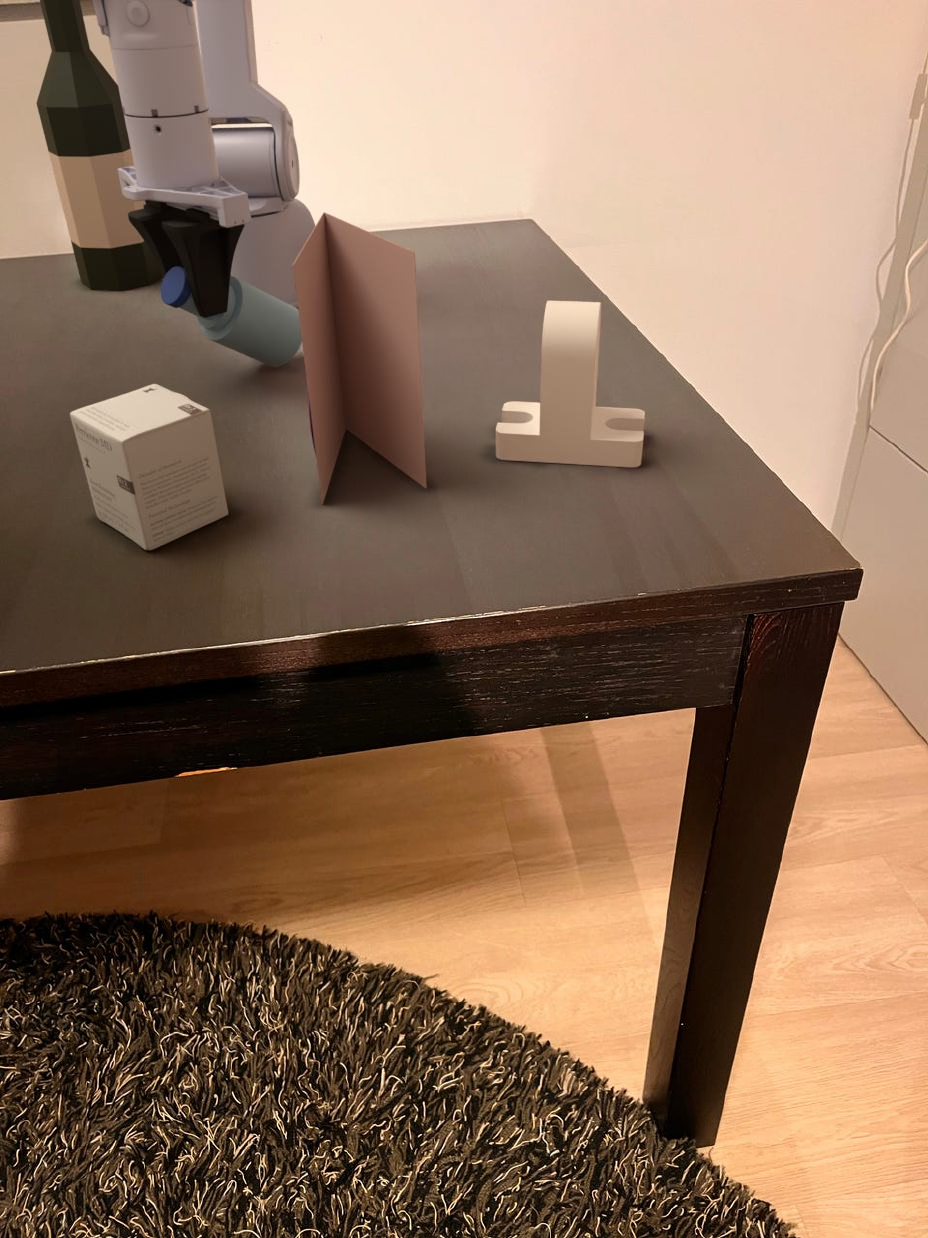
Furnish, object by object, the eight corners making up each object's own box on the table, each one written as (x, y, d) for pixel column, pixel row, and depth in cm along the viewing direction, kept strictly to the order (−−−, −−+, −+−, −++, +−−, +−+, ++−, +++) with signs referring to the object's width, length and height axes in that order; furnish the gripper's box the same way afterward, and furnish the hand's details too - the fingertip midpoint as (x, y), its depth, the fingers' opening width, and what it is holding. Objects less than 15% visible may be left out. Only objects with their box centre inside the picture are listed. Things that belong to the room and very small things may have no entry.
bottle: (275, 299, 82) (166, 244, 74) (313, 313, 79) (203, 257, 71) (253, 358, 83) (142, 310, 74) (289, 374, 80) (178, 326, 71)
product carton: (95, 520, 61) (64, 411, 57) (178, 485, 65) (154, 379, 61) (149, 554, 58) (120, 440, 54) (232, 515, 61) (212, 405, 57)
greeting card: (333, 427, 72) (310, 212, 63) (434, 427, 71) (425, 210, 62) (308, 504, 62) (277, 264, 54) (424, 504, 62) (412, 263, 53)
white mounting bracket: (505, 426, 71) (505, 288, 65) (642, 433, 70) (655, 292, 64) (494, 459, 67) (493, 314, 61) (640, 467, 65) (654, 320, 59)
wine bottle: (180, 273, 103) (113, -74, 86) (118, 295, 98) (34, -71, 80) (125, 262, 107) (51, -73, 89) (64, 283, 101) (-29, -70, 84)
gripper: (63, 107, 69) (108, 300, 77) (169, 130, 60) (207, 344, 68) (153, 96, 73) (186, 280, 81) (264, 116, 64) (289, 320, 72)
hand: (201, 308), depth 75 cm, fingers closed on bottle, 3 cm apart
